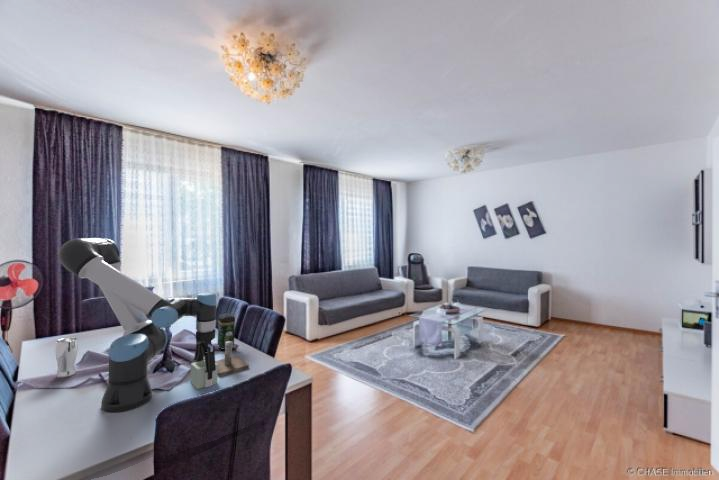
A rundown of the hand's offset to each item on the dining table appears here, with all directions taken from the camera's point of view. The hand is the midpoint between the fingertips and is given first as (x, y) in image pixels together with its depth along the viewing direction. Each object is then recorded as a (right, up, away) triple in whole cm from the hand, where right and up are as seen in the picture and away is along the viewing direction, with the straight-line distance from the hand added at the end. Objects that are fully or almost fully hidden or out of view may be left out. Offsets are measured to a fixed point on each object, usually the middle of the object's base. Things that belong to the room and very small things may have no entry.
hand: (203, 381), depth 134 cm
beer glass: (-59, +3, +1) cm, 60 cm away
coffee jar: (-8, +1, +40) cm, 41 cm away
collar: (0, 0, 0) cm, 0 cm away
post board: (+4, 0, +16) cm, 16 cm away
